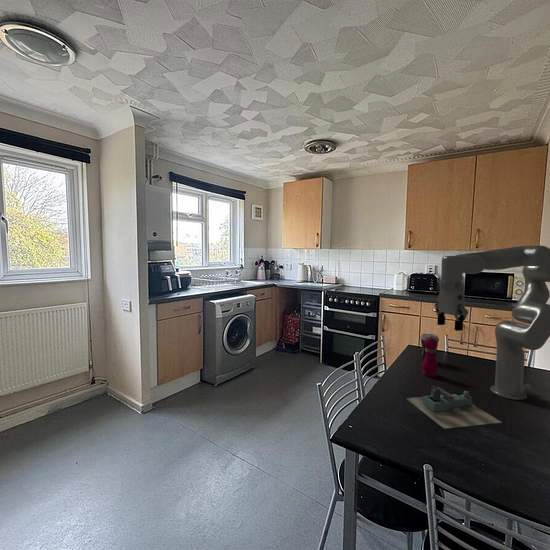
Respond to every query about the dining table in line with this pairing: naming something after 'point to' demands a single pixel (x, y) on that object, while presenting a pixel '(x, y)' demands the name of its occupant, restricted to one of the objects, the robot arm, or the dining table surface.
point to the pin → (436, 395)
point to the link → (448, 402)
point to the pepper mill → (430, 358)
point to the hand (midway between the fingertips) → (449, 327)
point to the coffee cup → (423, 338)
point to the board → (454, 413)
